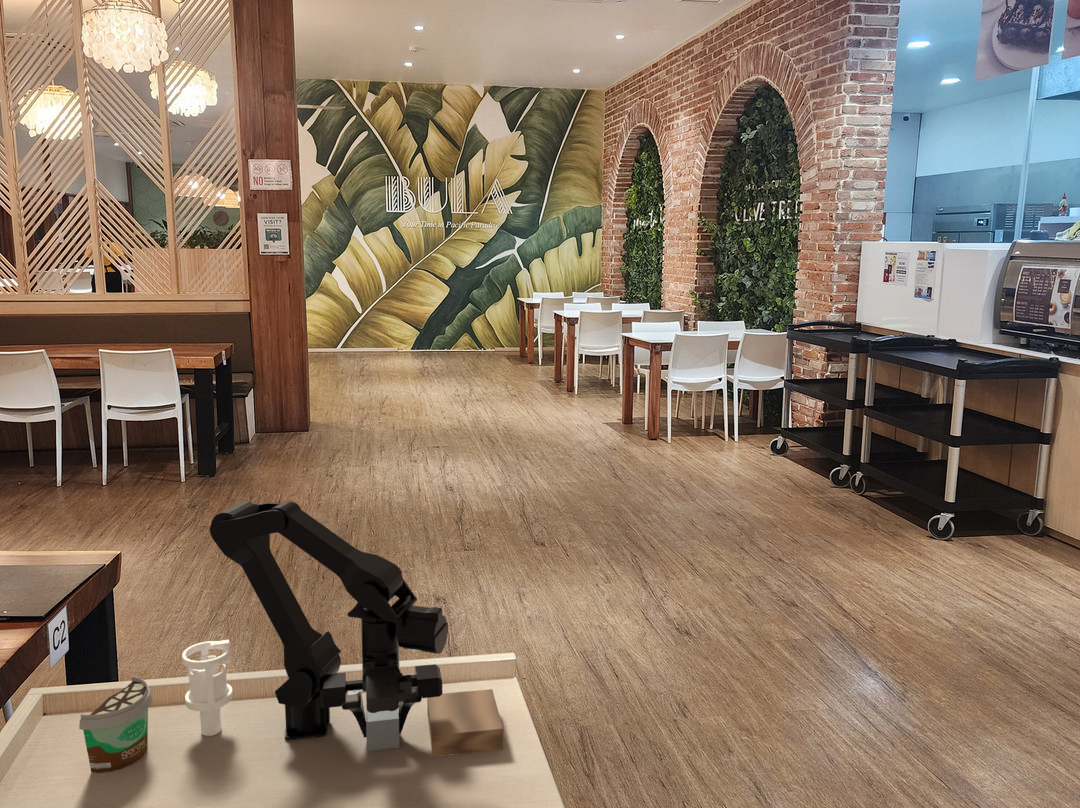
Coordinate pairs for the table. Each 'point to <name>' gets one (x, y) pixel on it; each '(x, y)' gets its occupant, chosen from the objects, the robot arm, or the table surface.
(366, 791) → the table surface
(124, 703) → the food container
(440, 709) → the block
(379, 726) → the slate cube
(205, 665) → the strainer
